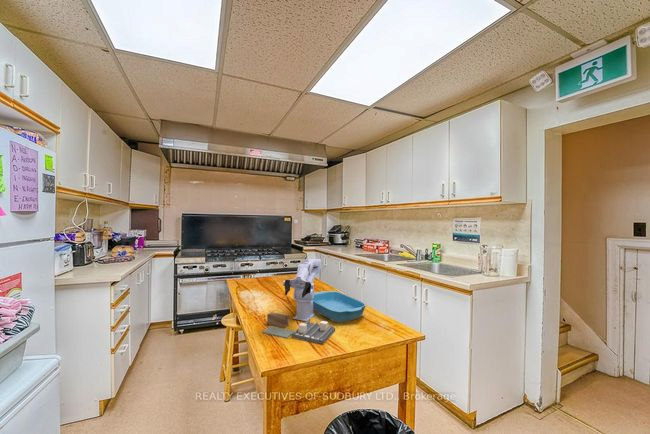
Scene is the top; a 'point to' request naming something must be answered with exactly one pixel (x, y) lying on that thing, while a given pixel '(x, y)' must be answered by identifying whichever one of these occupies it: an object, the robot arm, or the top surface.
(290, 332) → the mat
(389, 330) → the top surface
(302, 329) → the switch tab
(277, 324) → the brown rectangular block
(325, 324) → the switch tab
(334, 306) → the casserole dish
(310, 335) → the switch panel
